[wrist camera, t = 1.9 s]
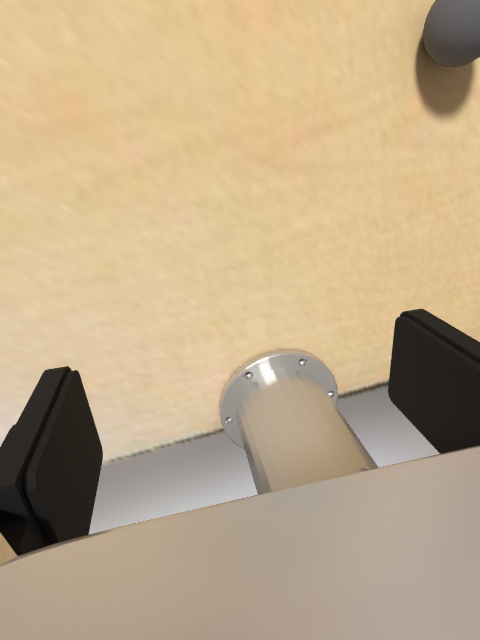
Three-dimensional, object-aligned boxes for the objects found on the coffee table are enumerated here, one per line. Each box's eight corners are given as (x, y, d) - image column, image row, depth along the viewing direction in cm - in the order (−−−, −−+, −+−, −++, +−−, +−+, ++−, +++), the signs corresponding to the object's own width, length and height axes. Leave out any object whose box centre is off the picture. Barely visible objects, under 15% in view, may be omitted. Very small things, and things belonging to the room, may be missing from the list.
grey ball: (477, 41, 29) (535, 22, 25) (425, 87, 30) (472, 76, 25) (454, -27, 27) (513, -61, 23) (397, 24, 28) (444, 0, 23)
